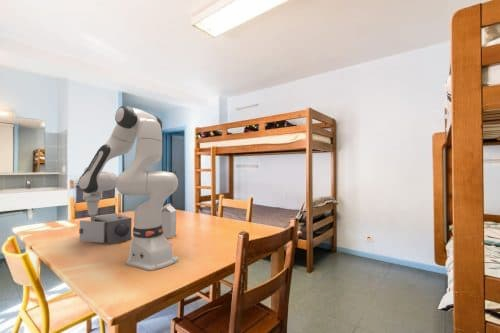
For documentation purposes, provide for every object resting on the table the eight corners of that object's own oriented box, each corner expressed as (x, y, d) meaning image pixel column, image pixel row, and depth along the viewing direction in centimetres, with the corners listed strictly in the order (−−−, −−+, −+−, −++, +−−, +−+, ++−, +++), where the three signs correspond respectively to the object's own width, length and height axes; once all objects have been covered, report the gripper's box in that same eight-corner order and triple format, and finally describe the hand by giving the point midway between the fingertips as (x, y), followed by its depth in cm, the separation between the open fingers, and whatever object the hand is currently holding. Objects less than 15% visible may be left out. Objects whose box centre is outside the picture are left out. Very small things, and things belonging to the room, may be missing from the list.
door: (106, 242, 122) (106, 222, 122) (103, 243, 120) (103, 223, 120) (81, 240, 126) (81, 220, 126) (77, 241, 124) (78, 221, 124)
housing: (133, 240, 129) (133, 217, 130) (109, 245, 120) (110, 221, 120) (115, 233, 143) (115, 212, 143) (93, 237, 134) (93, 215, 134)
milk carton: (176, 235, 140) (176, 203, 140) (171, 238, 133) (171, 205, 133) (164, 234, 141) (165, 203, 141) (159, 238, 134) (159, 205, 134)
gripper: (86, 193, 134) (86, 217, 135) (85, 198, 117) (85, 225, 118) (99, 193, 138) (99, 216, 138) (100, 197, 121) (99, 224, 121)
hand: (92, 220), depth 128 cm, fingers closed
